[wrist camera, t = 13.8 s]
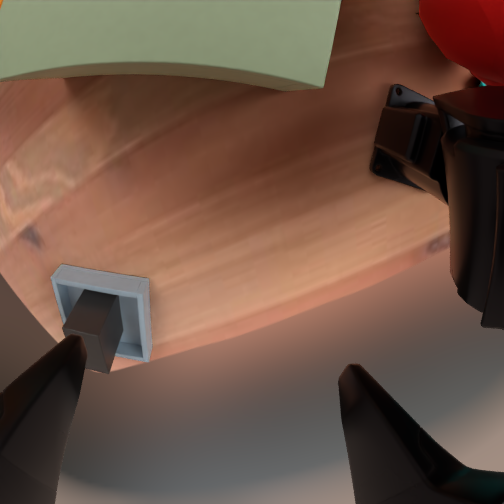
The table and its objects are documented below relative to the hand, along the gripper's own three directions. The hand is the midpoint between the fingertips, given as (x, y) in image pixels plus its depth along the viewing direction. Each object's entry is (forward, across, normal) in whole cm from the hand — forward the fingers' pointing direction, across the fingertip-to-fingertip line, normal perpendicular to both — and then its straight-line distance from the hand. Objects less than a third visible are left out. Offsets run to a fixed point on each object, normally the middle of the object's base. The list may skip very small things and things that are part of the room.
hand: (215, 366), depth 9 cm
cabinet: (+12, +5, -15) cm, 20 cm away
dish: (+12, +9, +10) cm, 18 cm away
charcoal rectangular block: (+11, +9, +10) cm, 17 cm away
